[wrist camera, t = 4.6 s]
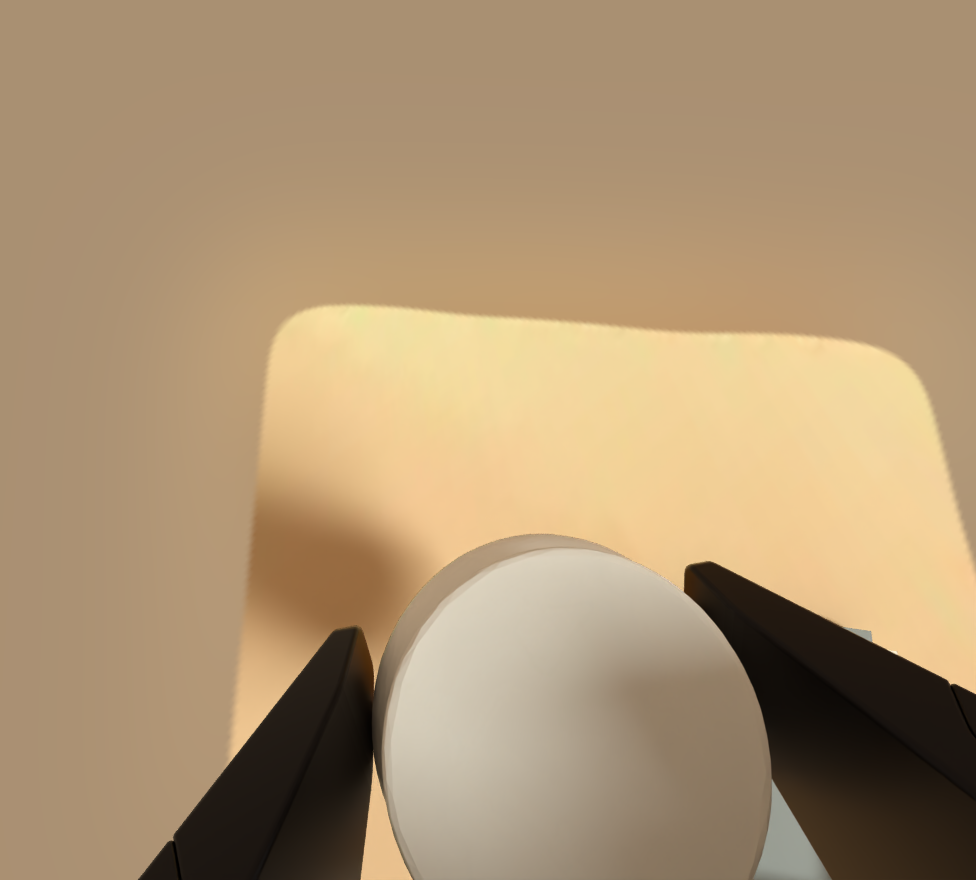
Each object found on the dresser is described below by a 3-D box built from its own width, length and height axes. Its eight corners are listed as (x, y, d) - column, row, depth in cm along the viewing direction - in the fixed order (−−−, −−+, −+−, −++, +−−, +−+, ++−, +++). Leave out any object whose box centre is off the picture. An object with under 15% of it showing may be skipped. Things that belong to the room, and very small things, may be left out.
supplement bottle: (495, 541, 16) (495, 404, 7) (656, 646, 15) (923, 657, 5) (386, 708, 14) (190, 830, 5) (558, 841, 13) (709, 1312, 4)
